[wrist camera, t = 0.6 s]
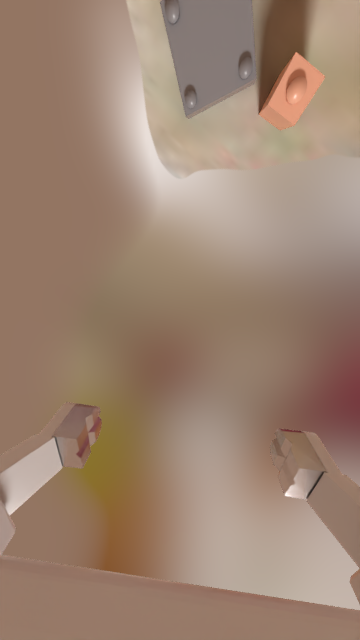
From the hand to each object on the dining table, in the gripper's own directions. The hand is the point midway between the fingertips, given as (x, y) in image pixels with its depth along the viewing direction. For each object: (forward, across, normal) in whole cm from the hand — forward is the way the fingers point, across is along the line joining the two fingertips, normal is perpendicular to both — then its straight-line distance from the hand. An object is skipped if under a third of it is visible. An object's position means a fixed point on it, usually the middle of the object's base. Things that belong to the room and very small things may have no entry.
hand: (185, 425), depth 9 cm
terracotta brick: (+41, -12, -32) cm, 53 cm away
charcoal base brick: (+41, +1, -37) cm, 55 cm away
